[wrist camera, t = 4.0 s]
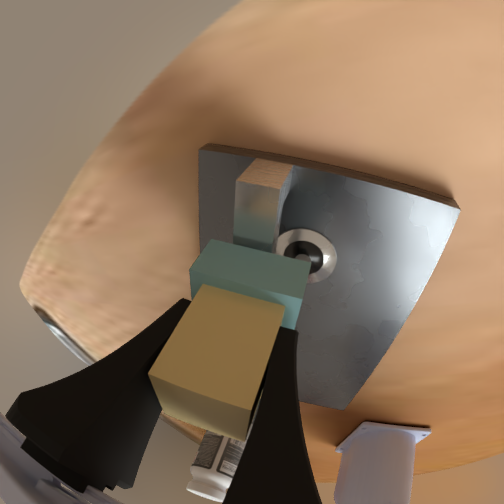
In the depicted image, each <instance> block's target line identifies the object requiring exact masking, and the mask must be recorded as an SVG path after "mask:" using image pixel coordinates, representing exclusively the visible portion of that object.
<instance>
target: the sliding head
mask: <svg viewBox="0 0 504 504" xmlns="http://www.w3.org/2000/svg"><path fill="white" fill-rule="evenodd" d="M310 267H311V259H310V258H309V257H308V256H307V255H305V254H299V255H297V256H296V257H295V259H294V258H289V257H285V256H281V255H277V254H273V253H269V252H264V251H260V250H256V249H252V248H248V247H244V246H240V245H235V244H231V243H227V242H223V241H219V240H214V239H211V240H210V241H209V243H208V244H207V245H206V247H205V248H204V250H203V251H202V252H201V254H200V255H199V257H198V258H197V259H196V261H195V262H194V264H193V265H192V266H191V268H190V269H189V272H190V285H191V297H192V302H191V303H190V305H189V307H188V308H187V310H186V312H185V313H184V315H183V316H182V318H181V320H180V321H179V323H178V325H177V326H176V328H175V329H174V331H173V333H172V334H171V336H170V338H169V339H168V341H167V343H166V344H165V346H164V348H163V349H162V351H161V353H160V354H159V356H158V358H157V359H156V361H155V363H154V364H153V366H152V368H151V369H150V371H149V373H148V375H149V378H150V380H151V383H152V385H153V388H154V390H155V393H156V395H157V397H158V400H159V402H160V404H161V407H162V409H163V411H164V414H166V415H169V416H171V417H174V418H176V419H179V420H181V421H184V422H186V423H189V424H192V425H194V426H197V427H200V428H203V429H205V430H208V431H211V432H214V433H217V434H220V435H223V436H226V437H229V438H233V439H236V440H239V441H242V442H245V440H246V437H247V434H248V432H249V429H250V426H251V423H252V420H253V417H254V415H255V412H256V409H257V406H258V403H259V400H260V397H261V394H262V391H263V387H264V382H265V378H266V374H267V370H268V365H269V361H270V356H271V352H272V348H273V345H274V342H275V339H276V336H277V333H278V331H279V328H280V326H282V327H286V328H289V329H293V330H294V329H295V325H296V322H297V318H298V315H299V311H300V307H301V304H302V300H303V296H304V292H305V288H306V284H307V279H308V275H309V271H310Z"/></svg>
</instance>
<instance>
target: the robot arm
mask: <svg viewBox="0 0 504 504" xmlns="http://www.w3.org/2000/svg"><path fill="white" fill-rule="evenodd" d="M191 302H192V301H190V300H187V299H184V298H182V299H180V300H179V301H178V302H177V303H176V304H174V305H173V306H172V307H171V308H170V309H169V310H168V311H166V312H165V313H164V314H163V315H162V316H160V317H159V318H158V319H157V320H156V321H154V322H153V323H152V324H151V325H149V326H148V327H147V328H146V329H144V330H143V331H142V332H140V333H139V334H138V335H137V336H135V337H134V338H133V339H131V340H130V341H128V342H127V343H125V344H124V345H123V346H121V347H120V348H118V349H117V350H115V351H114V352H112V353H111V354H109V355H108V356H106V357H104V358H103V359H101V360H99V361H98V362H96V363H94V364H92V365H90V366H88V367H87V368H85V369H83V370H81V371H79V372H77V373H75V374H73V375H70V376H68V377H66V378H63V379H61V380H58V381H56V382H53V383H51V384H48V385H45V386H42V387H39V388H35V389H32V390H29V391H25V392H22V393H21V394H20V395H19V396H18V398H17V399H16V400H15V402H14V403H13V405H12V406H11V408H10V409H9V411H8V412H7V414H6V415H5V416H6V417H5V416H4V415H3V414H1V412H0V497H1V498H2V499H3V501H4V502H5V503H6V504H90V503H92V504H123V503H121V502H119V501H117V500H115V499H114V498H112V497H110V496H108V495H107V494H105V493H103V490H104V489H105V487H107V488H108V489H110V490H113V489H114V488H115V486H116V485H117V486H119V487H121V488H123V489H128V488H131V487H133V484H134V481H135V478H136V475H137V472H138V468H139V465H140V463H141V460H142V457H143V454H144V451H145V449H146V446H147V444H148V441H149V439H150V436H151V434H152V431H153V429H154V427H155V424H156V422H157V420H158V418H159V415H160V413H161V411H162V407H161V404H160V402H159V400H158V397H157V395H156V393H155V390H154V388H153V385H152V383H151V380H150V378H149V375H148V373H149V371H150V369H151V368H152V366H153V364H154V363H155V361H156V359H157V358H158V356H159V354H160V353H161V351H162V349H163V348H164V346H165V344H166V343H167V341H168V339H169V338H170V336H171V334H172V333H173V331H174V329H175V328H176V326H177V325H178V323H179V321H180V320H181V318H182V316H183V315H184V313H185V312H186V310H187V308H188V307H189V305H190V303H191ZM298 335H299V333H298V332H297V330H293V329H289V328H286V327H282V326H280V328H279V331H278V333H277V336H276V339H275V342H274V345H273V348H272V352H271V356H270V361H269V365H268V370H267V374H266V378H265V382H264V387H263V391H262V396H261V400H260V404H259V409H258V412H257V415H256V418H255V420H254V423H253V426H252V429H251V432H250V434H249V437H248V440H247V442H246V445H245V448H244V450H243V453H242V456H241V458H240V461H239V463H238V466H237V469H236V471H235V474H234V476H233V479H232V481H231V484H230V486H229V488H228V491H227V493H226V496H225V498H224V500H223V503H222V504H322V502H321V499H320V496H319V493H318V490H317V486H316V483H315V480H314V476H313V472H312V468H311V465H310V461H309V457H308V453H307V448H306V443H305V438H304V433H303V428H302V421H301V414H300V406H299V398H298V385H297V342H298ZM13 426H14V427H16V428H17V429H18V430H19V431H20V432H21V433H22V434H23V435H22V434H21V433H20V432H19V431H18V430H17V429H16V428H14V427H13ZM430 433H431V429H429V428H417V427H406V426H397V425H389V424H381V423H374V422H363V423H362V424H361V425H360V426H359V427H358V428H357V429H356V430H355V431H354V432H352V433H351V434H350V435H349V436H348V437H347V438H346V439H345V440H344V441H343V442H342V443H341V444H340V445H339V446H337V447H336V449H335V451H336V452H340V453H342V458H341V463H340V468H339V473H338V478H337V482H336V487H335V492H334V500H335V503H336V504H409V503H410V496H411V487H412V479H413V469H414V457H415V444H416V443H418V442H419V441H421V440H422V439H424V438H425V437H426V436H428V435H429V434H430ZM24 435H25V436H26V437H25V436H24ZM60 482H61V483H62V484H63V485H65V486H66V487H68V488H69V489H71V490H72V491H73V492H71V491H70V490H68V489H66V488H64V487H62V486H61V483H60ZM74 492H75V493H74ZM77 494H78V495H77ZM82 497H83V498H82ZM85 499H86V500H87V501H86V500H85ZM88 501H89V502H90V503H89V502H88Z"/></svg>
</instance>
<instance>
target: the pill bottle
mask: <svg viewBox="0 0 504 504" xmlns="http://www.w3.org/2000/svg"><path fill="white" fill-rule="evenodd" d="M246 442H247V441H245V442H242V441H239V440H236V439H233V438H229V437H226V436H223V435H220V434H217V433H214V432H211V431H208V430H206V433H205V435H204V437H203V440H202V442H201V444H200V447H199V449H198V452H197V454H196V456H195V459H194V461H193V464H192V466H191V468H190V472H191V474H192V475H193V480H191V481H190V482H189V483H188V486H187V490H188V491H190V492H192V493H195V494H197V495H200V496H202V497H205V498H208V499H211V500H214V501H218V502H223V500H224V498H225V496H226V492H225V491H226V488H229V486H230V484H231V481H232V479H233V476H234V474H235V471H236V469H237V466H238V463H239V461H240V458H241V456H242V453H243V450H244V448H245V445H246Z"/></svg>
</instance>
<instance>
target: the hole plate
mask: <svg viewBox="0 0 504 504" xmlns="http://www.w3.org/2000/svg"><path fill="white" fill-rule="evenodd" d="M256 158H258V159H264V160H270V161H275V162H280V163H286V164H291V165H293V170H292V177H291V184H290V191H289V193H288V195H287V197H286V199H285V201H284V203H283V208H282V215H281V222H280V228H279V235H278V242H277V249H276V254H277V255H281V256H285V257H289V258H294V259H295V257H296V256H297V255H299V254H305V255H307V256H308V257H309V258H310V259H311V267H310V271H309V275H308V279H307V284H306V288H305V292H304V296H303V300H302V304H301V307H300V311H299V315H298V318H297V322H296V325H295V329H294V330H297V332H298V333H299V335H298V342H297V385H298V398H299V401H301V402H305V403H310V404H314V405H319V406H324V407H329V408H334V409H339V410H344V409H345V408H346V407H347V405H348V404H349V403H350V402H351V400H352V399H353V398H354V396H355V395H356V394H357V392H358V391H359V390H360V388H361V387H362V386H363V384H364V383H365V382H366V380H367V379H368V378H369V376H370V375H371V373H372V372H373V370H374V369H375V368H376V366H377V365H378V363H379V362H380V360H381V359H382V357H383V356H384V354H385V353H386V351H387V350H388V348H389V347H390V345H391V344H392V342H393V341H394V339H395V337H396V336H397V334H398V333H399V331H400V329H401V328H402V326H403V324H404V323H405V321H406V319H407V318H408V316H409V314H410V313H411V311H412V309H413V307H414V306H415V304H416V302H417V300H418V299H419V297H420V295H421V293H422V291H423V289H424V288H425V286H426V284H427V282H428V280H429V278H430V276H431V274H432V272H433V270H434V268H435V266H436V264H437V262H438V260H439V258H440V256H441V254H442V252H443V250H444V247H445V245H446V243H447V241H448V239H449V236H450V234H451V232H452V230H453V227H454V225H455V223H456V220H457V218H458V215H459V213H460V208H459V206H458V204H457V203H456V201H455V200H453V199H450V198H447V197H444V196H441V195H438V194H435V193H432V192H429V191H426V190H422V189H419V188H416V187H413V186H409V185H406V184H402V183H399V182H395V181H392V180H388V179H385V178H381V177H377V176H373V175H370V174H366V173H362V172H358V171H354V170H350V169H346V168H341V167H337V166H333V165H328V164H324V163H319V162H314V161H310V160H305V159H300V158H295V157H290V156H284V155H279V154H274V153H268V152H262V151H256V150H250V149H244V148H237V147H230V146H223V145H216V144H206V145H205V146H203V147H202V148H200V149H199V233H200V254H201V252H202V251H203V250H204V248H205V247H206V245H207V244H208V243H209V241H210V240H211V239H214V240H219V241H223V242H227V243H231V244H233V228H234V208H235V189H236V180H237V179H238V178H239V177H240V176H241V174H242V173H243V172H244V171H245V170H246V169H247V168H248V167H249V166H250V165H251V163H252V162H253V161H254V160H255V159H256Z"/></svg>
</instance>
